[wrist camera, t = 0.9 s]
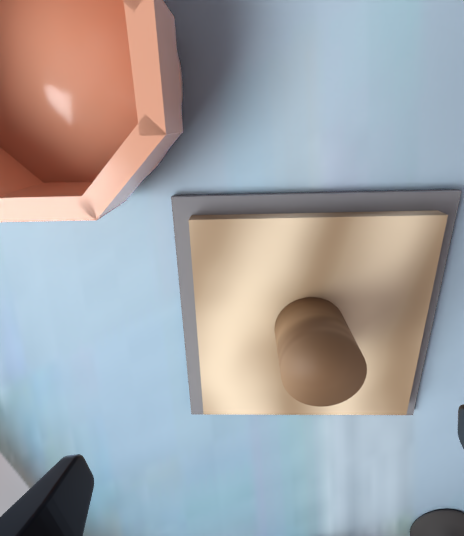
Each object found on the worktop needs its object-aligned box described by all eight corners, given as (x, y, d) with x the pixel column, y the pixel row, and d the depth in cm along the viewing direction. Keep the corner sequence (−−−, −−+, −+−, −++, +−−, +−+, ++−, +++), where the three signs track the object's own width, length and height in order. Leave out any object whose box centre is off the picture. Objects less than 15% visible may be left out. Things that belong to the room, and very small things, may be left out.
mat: (457, 189, 18) (461, 190, 18) (410, 410, 24) (412, 415, 24) (172, 195, 19) (171, 197, 19) (192, 409, 25) (191, 414, 24)
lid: (437, 210, 19) (502, 239, 14) (399, 403, 23) (438, 472, 19) (191, 215, 19) (174, 244, 14) (205, 402, 24) (195, 469, 19)
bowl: (172, -68, 15) (140, -154, 10) (191, 195, 19) (174, 219, 14) (-81, -55, 15) (-221, -130, 11) (-8, 200, 20) (-86, 224, 15)
